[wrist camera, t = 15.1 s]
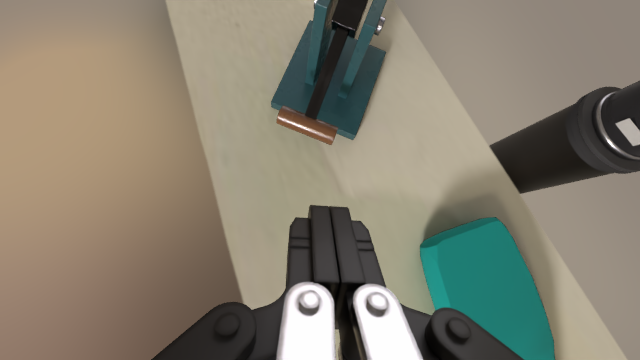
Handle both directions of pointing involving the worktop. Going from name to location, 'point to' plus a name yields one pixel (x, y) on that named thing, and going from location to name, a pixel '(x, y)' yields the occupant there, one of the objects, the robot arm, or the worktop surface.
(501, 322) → the spray bottle
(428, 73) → the worktop surface
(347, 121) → the teal lever stand
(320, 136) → the lever handle
